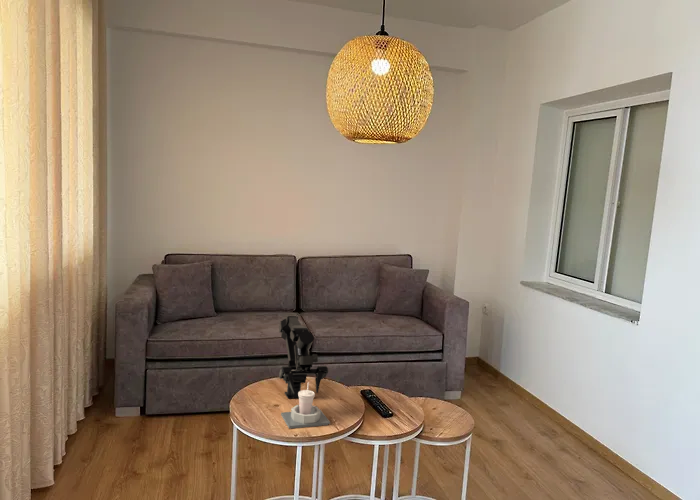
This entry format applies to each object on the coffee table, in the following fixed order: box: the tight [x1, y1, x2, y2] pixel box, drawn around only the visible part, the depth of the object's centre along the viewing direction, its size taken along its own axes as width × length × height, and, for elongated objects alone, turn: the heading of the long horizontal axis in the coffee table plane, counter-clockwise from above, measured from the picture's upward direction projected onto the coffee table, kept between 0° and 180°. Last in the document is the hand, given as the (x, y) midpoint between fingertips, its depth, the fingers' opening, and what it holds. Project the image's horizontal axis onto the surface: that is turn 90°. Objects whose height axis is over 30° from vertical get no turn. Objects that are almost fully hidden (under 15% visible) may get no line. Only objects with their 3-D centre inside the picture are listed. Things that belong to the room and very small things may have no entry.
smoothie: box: [298, 381, 316, 415], centre depth 197 cm, size 6×6×14 cm
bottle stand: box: [280, 404, 331, 429], centre depth 197 cm, size 12×16×4 cm
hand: (305, 392), depth 199 cm, fingers open, 9 cm apart
